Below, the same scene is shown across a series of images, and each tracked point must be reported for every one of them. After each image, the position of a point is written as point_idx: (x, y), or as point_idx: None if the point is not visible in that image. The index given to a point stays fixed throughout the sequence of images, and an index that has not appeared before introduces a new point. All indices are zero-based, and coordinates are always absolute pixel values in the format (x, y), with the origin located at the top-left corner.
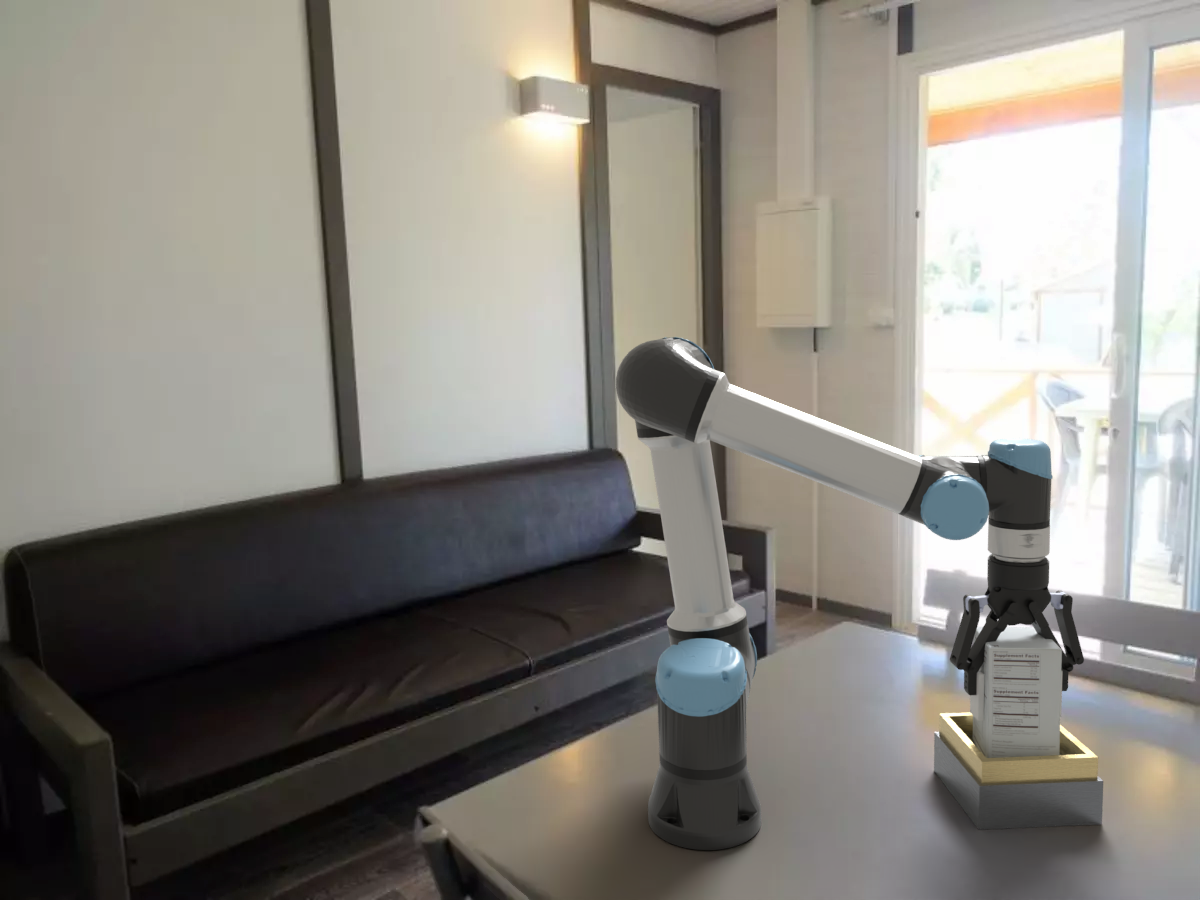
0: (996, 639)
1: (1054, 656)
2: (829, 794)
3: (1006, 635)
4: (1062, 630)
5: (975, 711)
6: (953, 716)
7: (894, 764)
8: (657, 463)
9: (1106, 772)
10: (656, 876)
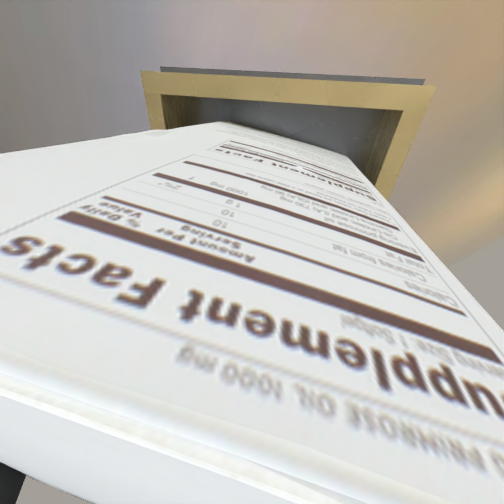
0: (17, 492)
1: None
2: (62, 131)
3: (74, 491)
4: None
5: None
6: (171, 94)
7: (139, 36)
8: None
9: (485, 131)
10: None
